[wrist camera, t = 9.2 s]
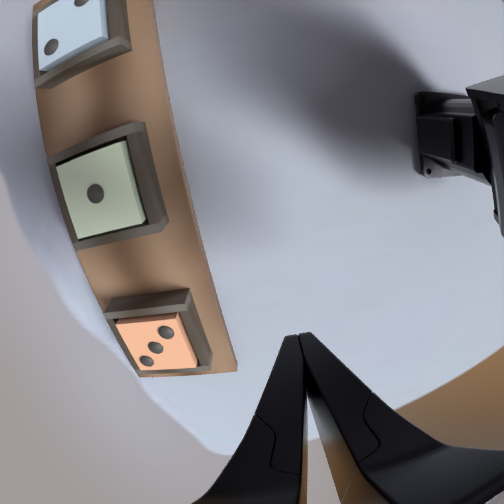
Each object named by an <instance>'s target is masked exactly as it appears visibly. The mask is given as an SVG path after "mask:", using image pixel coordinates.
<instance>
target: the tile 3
mask: <svg viewBox="0 0 504 504" xmlns="http://www.w3.org/2000/svg"><path fill="white" fill-rule="evenodd" d="M115 325H116V327H117V329H118V331H119V332H120V334H121V336H122V338H123V340H124V342H125V344H126V345H127V347H128V349H129V351H130V353H131V354H132V356H133V358H134V360H135V361H136V363H137V365H138V366H139V368H140V370H163V369H182V368H196V366H197V360H198V357H197V355H196V352H195V350H194V348H193V345H192V343H191V340H190V338H189V335H188V333H187V330H186V328H185V325H184V323H183V320H182V318H181V315H180V312H172V313H163V314H155V315H145V316H136V317H126V318H119V319H118V321H117V323H116V324H115Z"/></svg>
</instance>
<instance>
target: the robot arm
mask: <svg viewBox="0 0 504 504" xmlns="http://www.w3.org/2000/svg"><path fill="white" fill-rule="evenodd" d="M465 89H466V91H467V94H468V96H461V95H453V94H444V93H435V92H423V91H421V92H417V93H415V104H416V112H417V129H418V141H419V151H420V160H421V173H422V175H423V176H424V177H427V178H434V177H447V176H460V175H463V176H466V177H469V178H472V179H474V180H477V181H479V182H482V183H484V184H487V185H489V186H492V192H493V199H494V208H495V209H494V219H495V220H496V221H497V222H498V224H499V227H500V231H501V234H502V236H503V237H504V75H503V76H500V77H496V78H493V79H490V80H487V81H484V82H481V83H478V84H475V85H472V86H469V87H466V88H465ZM420 96H422V98H423V100H422V101H421V99H420ZM427 169H428V170H429V171H428V173H426V170H427ZM306 392H307V393H306ZM307 397H308V400H309V404H310V407H311V410H312V413H313V416H314V420H315V423H316V426H317V429H318V432H319V435H320V439H321V442H322V445H323V448H324V451H325V454H326V458H327V461H328V464H329V467H330V470H331V474H332V477H333V480H334V483H335V487H336V490H337V493H338V496H339V499H340V503H341V504H504V450H488V449H475V448H465V447H456V446H451V445H447V444H444V443H442V442H440V441H438V440H436V439H434V438H433V437H431V436H430V435H428V434H426V433H425V432H424V431H422V430H421V429H419V428H418V427H416V426H415V425H413V424H412V423H411V422H409V421H408V420H406V419H405V418H403V417H402V416H401V415H399V414H398V413H397V412H395V411H394V410H393V409H391V408H390V407H389V406H388V405H387V404H386V403H385V402H383V401H382V400H381V399H380V398H379V397H378V396H377V395H376V394H375V393H374V392H373V393H372V390H371V389H369V388H368V387H367V386H366V385H365V384H364V383H363V382H362V381H361V380H360V379H359V378H358V377H357V376H356V375H355V374H354V373H353V372H352V371H351V370H350V369H349V368H347V367H346V366H345V365H344V364H343V363H342V362H341V361H340V360H339V359H338V358H337V357H336V356H335V355H334V354H333V353H332V352H331V351H330V350H329V349H328V348H327V347H326V346H325V345H324V344H323V343H322V342H321V341H320V340H318V339H317V338H316V337H315V336H314V335H313V334H312V333H311V332H306V333H300V334H299V335H296V334H294V335H289V336H285V337H284V340H283V342H282V345H281V348H280V350H279V353H278V356H277V358H276V361H275V364H274V366H273V369H272V371H271V374H270V377H269V379H268V382H267V384H266V387H265V389H264V392H263V394H262V397H261V399H260V401H259V404H258V406H257V409H256V411H255V415H254V416H253V418H252V420H251V423H250V425H249V427H248V429H247V431H246V433H245V435H244V437H243V439H242V441H241V443H240V444H239V446H238V448H237V449H236V451H235V453H234V454H233V456H232V457H231V459H230V460H229V462H228V463H227V465H226V466H225V468H224V469H223V471H222V472H221V474H220V475H219V477H218V478H217V480H216V481H215V482H214V484H213V485H212V486H211V488H210V489H209V490H208V491H207V492H206V493H205V494H204V495H203V496H202V497H200V498H199V499H198V500H196V501H195V502H193V503H192V504H307V469H308V468H307V467H308V465H307V463H308V461H307V460H308V421H307Z"/></svg>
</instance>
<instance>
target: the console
mask: <svg viewBox="0 0 504 504" xmlns="http://www.w3.org/2000/svg"><path fill="white" fill-rule="evenodd" d="M57 1H59V0H41V1H39V2H38V3H36V4H35V5H34V7H33V24H32V46H33V68H34V81H35V88H36V97H37V105H38V112H39V118H40V124H41V130H42V135H43V140H44V145H45V150H46V155H47V160H48V164H49V169H50V173H51V176H52V180H53V184H54V188H55V191H56V195H57V198H58V201H59V205H60V208H61V211H62V214H63V217H64V220H65V223H66V226H67V229H68V232H69V235H70V237H71V240H72V243H73V245H74V248H75V251H76V252H77V255H78V258H79V260H80V263H81V265H82V267H83V270H84V272H85V275H86V277H87V279H88V281H89V284H90V286H91V288H92V290H93V293H94V295H95V297H96V299H97V301H98V303H99V305H100V307H101V309H102V311H103V314H104V316H105V318H106V320H107V322H108V324H109V326H110V328H111V330H112V331H113V333H114V335H115V337H116V339H117V341H118V342H119V344H120V346H121V348H122V350H123V351H124V353H125V355H126V356H127V358H128V360H129V362H130V363H131V365H132V367H133V368H134V370H135V372H136V373H137V374H138V376H139V377H168V376H188V375H202V374H215V373H225V372H235V371H237V361H236V357H235V354H234V351H233V348H232V345H231V341H230V338H229V335H228V331H227V328H226V325H225V321H224V318H223V315H222V311H221V308H220V305H219V301H218V298H217V294H216V291H215V287H214V283H213V280H212V276H211V273H210V269H209V265H208V262H207V258H206V254H205V251H204V247H203V243H202V239H201V235H200V231H199V228H198V224H197V220H196V216H195V212H194V208H193V204H192V200H191V195H190V191H189V187H188V183H187V179H186V174H185V170H184V166H183V161H182V157H181V152H180V148H179V143H178V138H177V134H176V129H175V124H174V119H173V115H172V110H171V105H170V99H169V94H168V89H167V84H166V78H165V73H164V67H163V62H162V56H161V50H160V44H159V38H158V31H157V25H156V18H155V11H154V4H153V0H107V10H108V22H109V32H110V40H108V41H106V42H104V43H102V44H99V45H97V46H95V47H93V48H91V49H89V50H87V51H85V52H83V53H81V54H79V55H77V56H75V57H73V58H71V59H69V60H68V61H66V62H64V63H62V64H60V65H59V66H57V67H55V68H54V69H52V70H50V71H49V72H48V71H41V70H39V59H38V13H40V12H41V11H43V10H44V9H46V8H47V7H49V6H51V5H52V4H54V3H55V2H57ZM127 140H128V144H129V149H130V153H131V157H132V162H133V166H134V170H135V174H136V178H137V181H138V185H139V189H140V193H141V196H142V200H143V204H144V207H145V211H146V214H147V217H148V218H147V219H146V220H145V221H144V222H143V223H141V224H137V225H133V226H128V227H124V228H120V229H116V230H112V231H108V232H104V233H100V234H96V235H92V236H88V237H84V238H80V239H78V237H77V234H76V232H75V229H74V226H73V223H72V220H71V217H70V214H69V211H68V208H67V204H66V201H65V198H64V194H63V191H62V187H61V184H60V180H59V176H58V172H57V169H56V167H57V166H60V165H62V164H64V163H67V162H69V161H71V160H74V159H76V158H79V157H81V156H83V155H86V154H89V153H91V152H94V151H96V150H99V149H102V148H104V147H107V146H110V145H113V144H115V143H118V142H122V141H127ZM172 312H180V315H181V318H182V320H183V323H184V325H185V328H186V330H187V333H188V335H189V338H190V340H191V343H192V345H193V348H194V350H195V352H196V355H197V357H198V360H197V366H196V368H182V369H163V370H140V368H139V366H138V365H137V363H136V361H135V360H134V358H133V356H132V354H131V353H130V351H129V349H128V347H127V345H126V344H125V342H124V340H123V338H122V336H121V334H120V332H119V331H118V329H117V327H116V325H115V324H116V323H117V321H118V319H119V318H126V317H136V316H145V315H155V314H163V313H172Z"/></svg>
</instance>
